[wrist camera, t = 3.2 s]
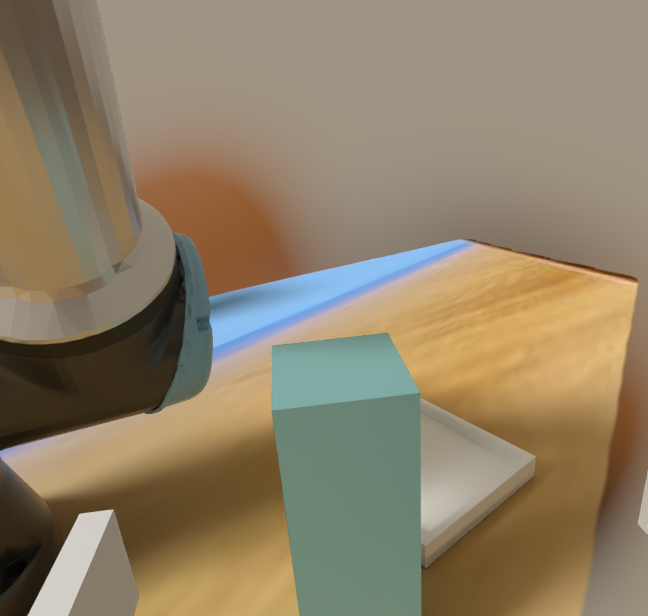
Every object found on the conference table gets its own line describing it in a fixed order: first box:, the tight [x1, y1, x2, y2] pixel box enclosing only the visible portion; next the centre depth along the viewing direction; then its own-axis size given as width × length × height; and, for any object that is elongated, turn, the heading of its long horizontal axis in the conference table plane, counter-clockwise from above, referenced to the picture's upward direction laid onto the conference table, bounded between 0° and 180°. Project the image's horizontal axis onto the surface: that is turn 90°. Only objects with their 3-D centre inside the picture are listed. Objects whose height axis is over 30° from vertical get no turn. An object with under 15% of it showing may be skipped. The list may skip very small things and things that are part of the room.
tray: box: [420, 398, 536, 568], centre depth 41 cm, size 13×13×2 cm
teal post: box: [272, 333, 421, 616], centre depth 25 cm, size 6×6×18 cm
